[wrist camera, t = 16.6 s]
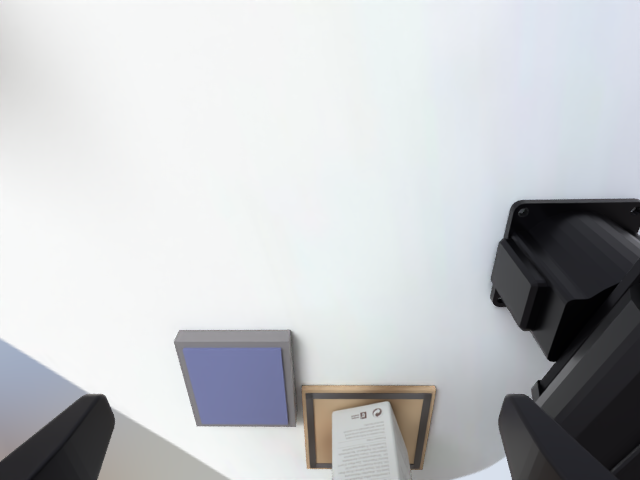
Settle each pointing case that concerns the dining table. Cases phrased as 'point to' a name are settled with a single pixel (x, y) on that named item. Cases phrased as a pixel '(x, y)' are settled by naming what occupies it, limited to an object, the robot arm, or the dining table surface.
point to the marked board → (322, 401)
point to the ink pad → (239, 376)
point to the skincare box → (368, 444)
